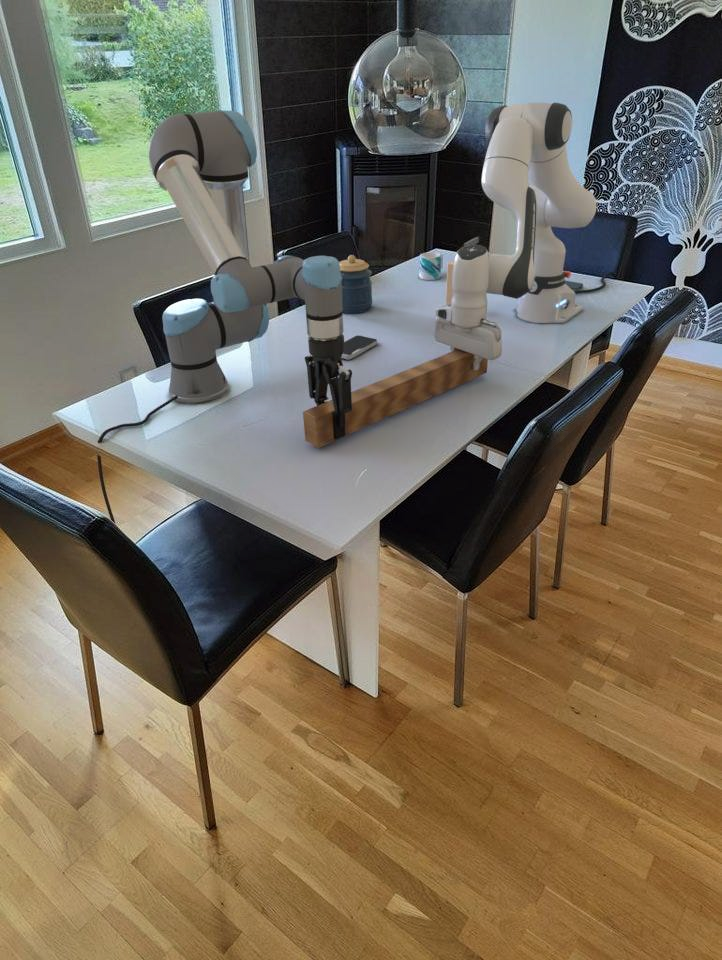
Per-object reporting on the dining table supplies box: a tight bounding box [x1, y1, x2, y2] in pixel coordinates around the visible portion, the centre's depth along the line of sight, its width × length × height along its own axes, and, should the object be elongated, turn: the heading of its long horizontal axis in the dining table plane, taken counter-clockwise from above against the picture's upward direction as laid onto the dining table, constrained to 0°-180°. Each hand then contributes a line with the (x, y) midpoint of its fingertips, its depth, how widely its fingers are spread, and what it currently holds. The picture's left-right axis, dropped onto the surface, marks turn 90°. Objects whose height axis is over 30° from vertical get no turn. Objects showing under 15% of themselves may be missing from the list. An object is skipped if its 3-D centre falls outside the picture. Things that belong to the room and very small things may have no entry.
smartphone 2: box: [565, 280, 584, 291], centre depth 241 cm, size 8×2×15 cm
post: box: [302, 349, 489, 449], centre depth 162 cm, size 57×5×7 cm, turn 131°
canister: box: [339, 254, 373, 314], centre depth 225 cm, size 13×13×18 cm
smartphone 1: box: [341, 334, 378, 361], centre depth 198 cm, size 8×1×15 cm
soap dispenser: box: [445, 236, 480, 305], centre depth 219 cm, size 13×9×22 cm
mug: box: [418, 251, 444, 281], centre depth 257 cm, size 8×12×8 cm
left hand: (332, 432), depth 152 cm, fingers closed on post, 5 cm apart
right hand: (465, 365), depth 175 cm, fingers closed on post, 4 cm apart
